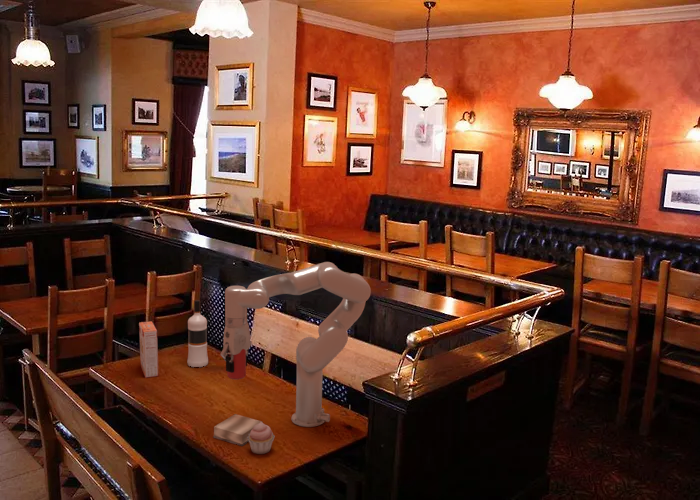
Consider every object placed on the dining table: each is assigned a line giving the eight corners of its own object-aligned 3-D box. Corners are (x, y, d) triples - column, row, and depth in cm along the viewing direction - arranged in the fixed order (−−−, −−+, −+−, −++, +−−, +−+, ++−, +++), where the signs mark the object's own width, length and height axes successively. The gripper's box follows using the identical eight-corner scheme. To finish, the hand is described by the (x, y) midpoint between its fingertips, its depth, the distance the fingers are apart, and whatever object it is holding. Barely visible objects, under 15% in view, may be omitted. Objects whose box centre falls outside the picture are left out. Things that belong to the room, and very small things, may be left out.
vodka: (184, 367, 293) (183, 302, 288) (191, 360, 302) (190, 297, 297) (204, 368, 292) (204, 303, 287) (210, 361, 301) (210, 298, 296)
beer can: (241, 381, 233) (241, 348, 230) (224, 379, 234) (223, 346, 232) (248, 374, 239) (248, 342, 237) (232, 372, 241) (231, 341, 238)
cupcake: (274, 442, 227) (274, 415, 225) (275, 456, 218) (275, 427, 216) (246, 443, 225) (246, 416, 223) (246, 457, 216) (246, 429, 214)
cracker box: (139, 367, 292) (138, 321, 288) (153, 365, 294) (152, 320, 290) (144, 378, 279) (142, 331, 275) (158, 376, 282) (157, 329, 278)
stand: (263, 431, 234) (263, 421, 234) (242, 446, 223) (242, 435, 223) (235, 423, 240) (235, 413, 239) (213, 437, 229) (213, 426, 228)
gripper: (228, 328, 223) (228, 378, 227) (259, 316, 238) (259, 363, 242) (211, 325, 227) (212, 374, 230) (243, 313, 242) (243, 359, 245)
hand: (236, 368), depth 236 cm, fingers closed on beer can, 6 cm apart
